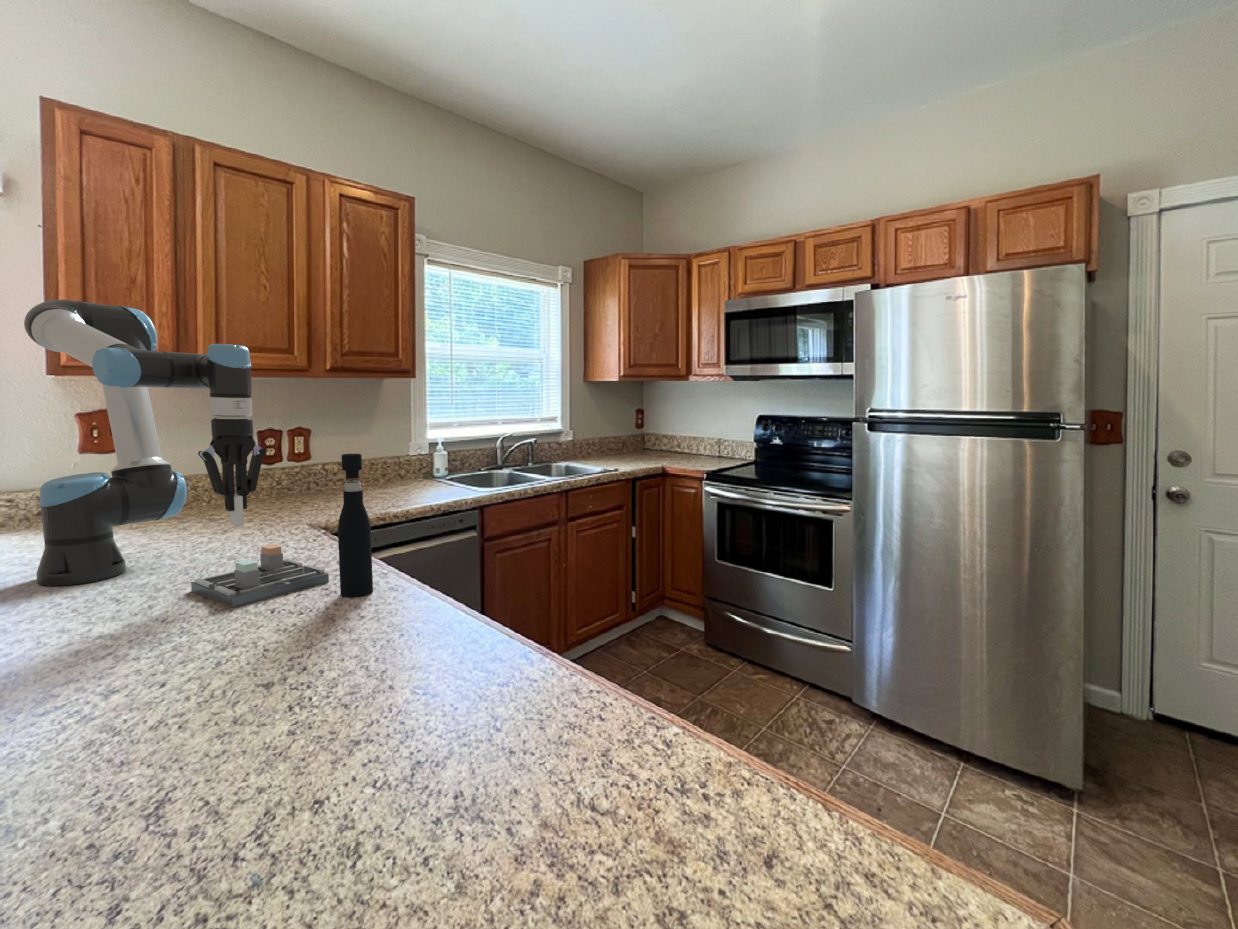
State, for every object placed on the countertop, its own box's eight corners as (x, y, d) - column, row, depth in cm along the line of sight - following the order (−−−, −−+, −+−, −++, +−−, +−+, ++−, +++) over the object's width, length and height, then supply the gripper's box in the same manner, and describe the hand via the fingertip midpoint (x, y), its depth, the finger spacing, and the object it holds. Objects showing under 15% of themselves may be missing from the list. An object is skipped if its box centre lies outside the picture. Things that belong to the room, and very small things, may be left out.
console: (191, 591, 125) (190, 578, 125) (285, 569, 142) (285, 557, 142) (233, 608, 116) (232, 594, 115) (328, 582, 132) (328, 570, 132)
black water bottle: (364, 598, 122) (359, 456, 119) (334, 597, 122) (328, 455, 119) (378, 588, 128) (373, 453, 125) (349, 588, 129) (343, 452, 125)
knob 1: (235, 586, 122) (233, 562, 121) (250, 583, 124) (249, 559, 124) (244, 590, 120) (243, 565, 119) (260, 586, 122) (258, 562, 122)
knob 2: (261, 568, 135) (259, 546, 134) (274, 565, 137) (273, 544, 137) (270, 571, 133) (268, 549, 132) (283, 568, 135) (282, 546, 134)
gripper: (206, 418, 118) (212, 532, 121) (272, 417, 129) (276, 522, 132) (189, 417, 122) (195, 527, 125) (255, 416, 133) (259, 517, 136)
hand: (237, 524), depth 128 cm, fingers closed
